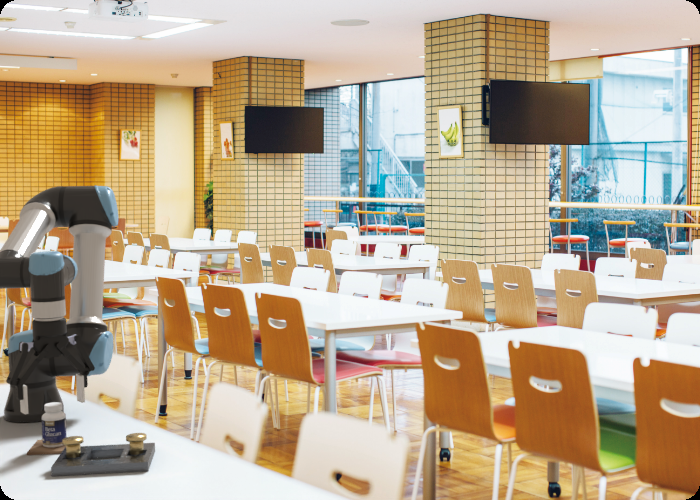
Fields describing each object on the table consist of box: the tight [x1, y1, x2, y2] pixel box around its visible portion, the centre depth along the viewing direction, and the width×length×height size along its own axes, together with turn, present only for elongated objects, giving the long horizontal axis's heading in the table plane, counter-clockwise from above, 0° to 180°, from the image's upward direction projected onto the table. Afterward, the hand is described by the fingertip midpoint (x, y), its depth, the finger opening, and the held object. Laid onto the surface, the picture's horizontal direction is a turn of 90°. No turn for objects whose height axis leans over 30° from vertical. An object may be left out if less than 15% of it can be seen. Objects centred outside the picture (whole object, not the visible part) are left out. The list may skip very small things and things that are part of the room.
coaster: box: [26, 439, 66, 456], centre depth 197 cm, size 10×10×1 cm
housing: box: [50, 442, 156, 477], centre depth 185 cm, size 14×20×2 cm
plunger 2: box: [125, 432, 147, 455], centre depth 186 cm, size 4×4×4 cm
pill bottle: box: [41, 402, 67, 448], centre depth 197 cm, size 5×5×10 cm
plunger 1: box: [62, 435, 85, 458], centre depth 184 cm, size 4×4×4 cm
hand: (53, 407), depth 197 cm, fingers open, 13 cm apart
